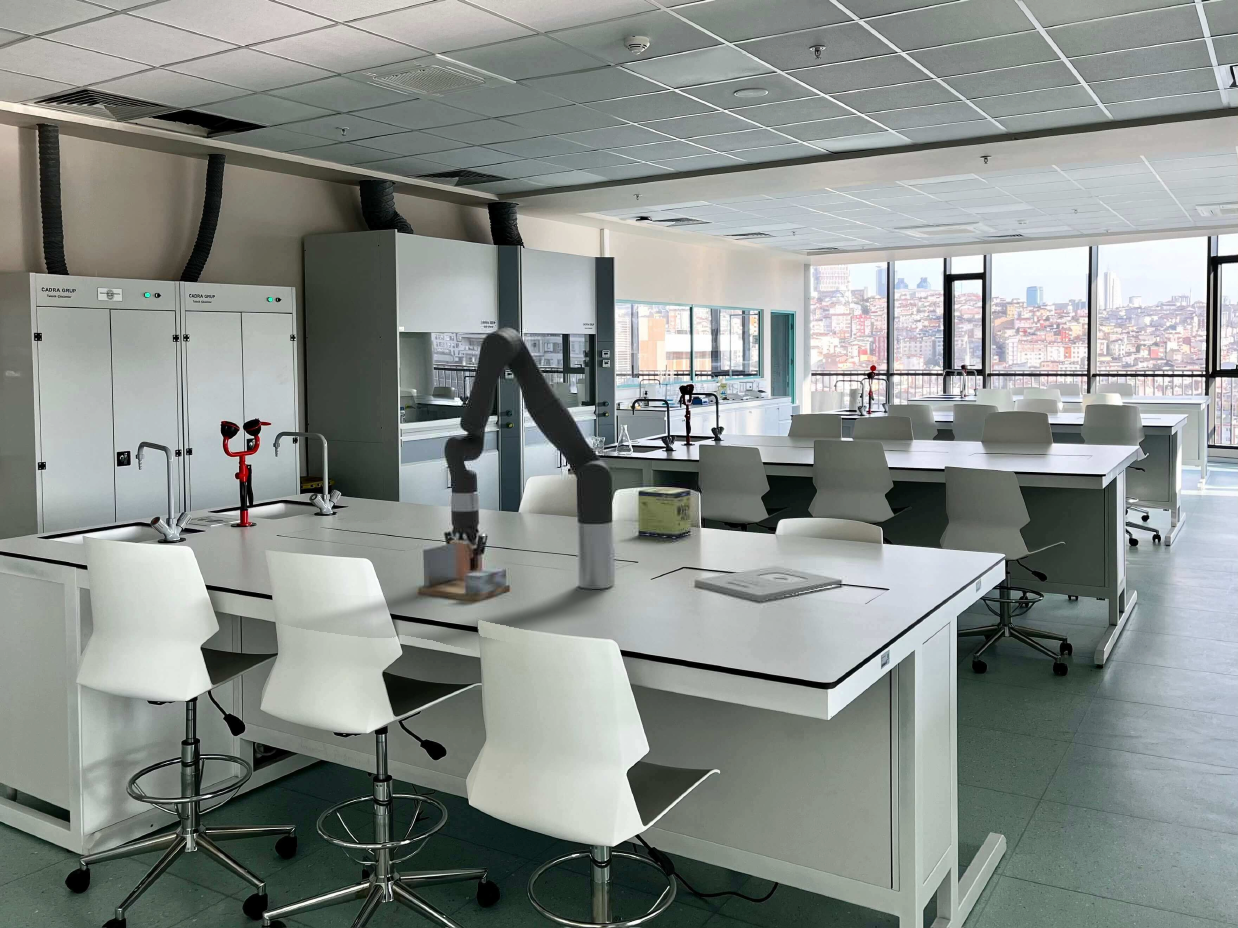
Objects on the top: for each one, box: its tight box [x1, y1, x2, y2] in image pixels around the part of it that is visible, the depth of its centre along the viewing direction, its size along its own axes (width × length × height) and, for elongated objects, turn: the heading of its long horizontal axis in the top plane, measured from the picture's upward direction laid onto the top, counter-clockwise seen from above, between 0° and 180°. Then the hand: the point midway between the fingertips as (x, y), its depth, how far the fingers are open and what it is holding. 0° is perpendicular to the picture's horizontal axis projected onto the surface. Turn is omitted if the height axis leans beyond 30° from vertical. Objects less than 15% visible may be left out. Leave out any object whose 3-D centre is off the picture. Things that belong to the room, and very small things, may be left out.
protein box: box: [637, 487, 692, 539], centre depth 360 cm, size 10×16×16 cm
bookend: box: [422, 544, 457, 586], centre depth 275 cm, size 11×2×10 cm, turn 149°
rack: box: [417, 567, 511, 602], centre depth 271 cm, size 14×19×6 cm
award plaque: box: [694, 565, 843, 602], centre depth 275 cm, size 25×30×2 cm
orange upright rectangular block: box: [450, 539, 483, 580], centre depth 287 cm, size 8×5×11 cm, turn 149°
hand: (466, 569), depth 287 cm, fingers closed on orange upright rectangular block, 4 cm apart
